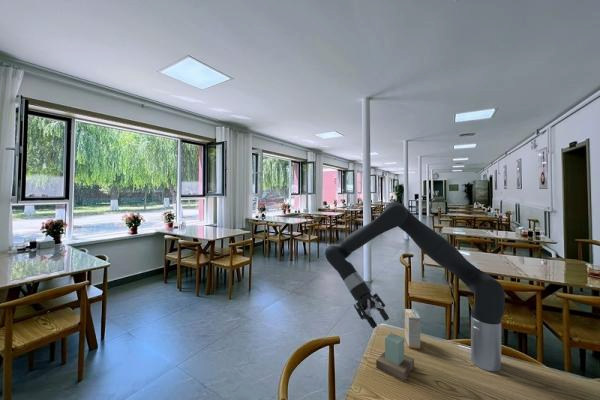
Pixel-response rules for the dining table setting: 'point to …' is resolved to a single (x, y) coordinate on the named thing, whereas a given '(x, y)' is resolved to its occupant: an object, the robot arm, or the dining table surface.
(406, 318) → the supplement box
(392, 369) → the walnut plinth
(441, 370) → the dining table surface
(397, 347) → the sage block
